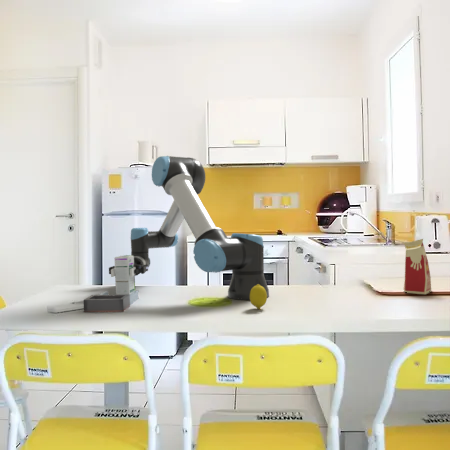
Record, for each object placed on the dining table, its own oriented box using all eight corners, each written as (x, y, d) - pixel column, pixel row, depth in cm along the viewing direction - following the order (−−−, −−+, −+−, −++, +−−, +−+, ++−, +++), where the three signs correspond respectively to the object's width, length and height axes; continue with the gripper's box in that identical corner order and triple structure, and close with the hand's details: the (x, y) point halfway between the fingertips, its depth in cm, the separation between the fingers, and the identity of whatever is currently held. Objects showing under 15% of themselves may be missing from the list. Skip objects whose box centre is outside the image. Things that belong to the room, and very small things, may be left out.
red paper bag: (431, 290, 185) (430, 237, 185) (426, 294, 178) (426, 239, 177) (406, 289, 190) (405, 237, 190) (400, 292, 183) (400, 239, 182)
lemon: (262, 311, 155) (261, 286, 154) (246, 309, 158) (246, 284, 157) (270, 308, 159) (269, 283, 159) (255, 306, 162) (254, 282, 162)
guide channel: (105, 299, 183) (104, 290, 183) (138, 298, 182) (137, 290, 182) (93, 306, 169) (93, 297, 169) (129, 305, 168) (129, 297, 168)
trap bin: (92, 306, 168) (92, 295, 168) (129, 306, 168) (129, 294, 168) (83, 312, 159) (83, 299, 159) (123, 311, 159) (123, 299, 159)
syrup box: (129, 294, 185) (128, 256, 185) (115, 294, 186) (114, 256, 186) (135, 292, 191) (134, 255, 190) (121, 292, 192) (120, 255, 191)
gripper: (158, 274, 206) (147, 282, 183) (112, 275, 207) (96, 283, 184) (157, 256, 206) (146, 262, 183) (112, 257, 206) (95, 263, 183)
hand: (121, 273), depth 183 cm, fingers closed on syrup box, 6 cm apart
